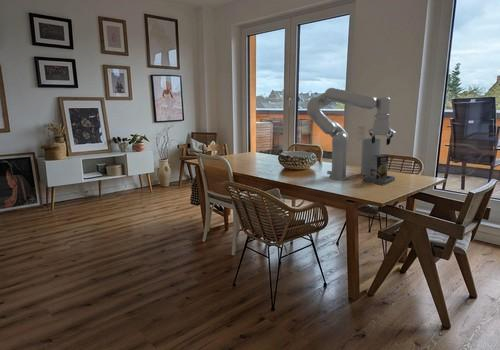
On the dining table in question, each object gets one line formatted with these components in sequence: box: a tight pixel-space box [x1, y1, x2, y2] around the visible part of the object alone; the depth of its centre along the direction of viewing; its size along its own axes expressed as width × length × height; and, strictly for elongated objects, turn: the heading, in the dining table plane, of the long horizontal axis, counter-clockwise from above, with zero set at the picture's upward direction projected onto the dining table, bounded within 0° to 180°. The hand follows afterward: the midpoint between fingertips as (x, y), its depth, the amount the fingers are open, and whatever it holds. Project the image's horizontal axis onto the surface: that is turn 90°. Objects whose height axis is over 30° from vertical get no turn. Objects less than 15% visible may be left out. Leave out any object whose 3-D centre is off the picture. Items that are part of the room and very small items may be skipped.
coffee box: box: [370, 154, 389, 180], centre depth 227 cm, size 9×6×16 cm
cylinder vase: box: [360, 138, 382, 177], centre depth 244 cm, size 12×12×25 cm
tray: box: [362, 175, 396, 186], centre depth 228 cm, size 15×16×2 cm
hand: (380, 143), depth 223 cm, fingers open, 9 cm apart
